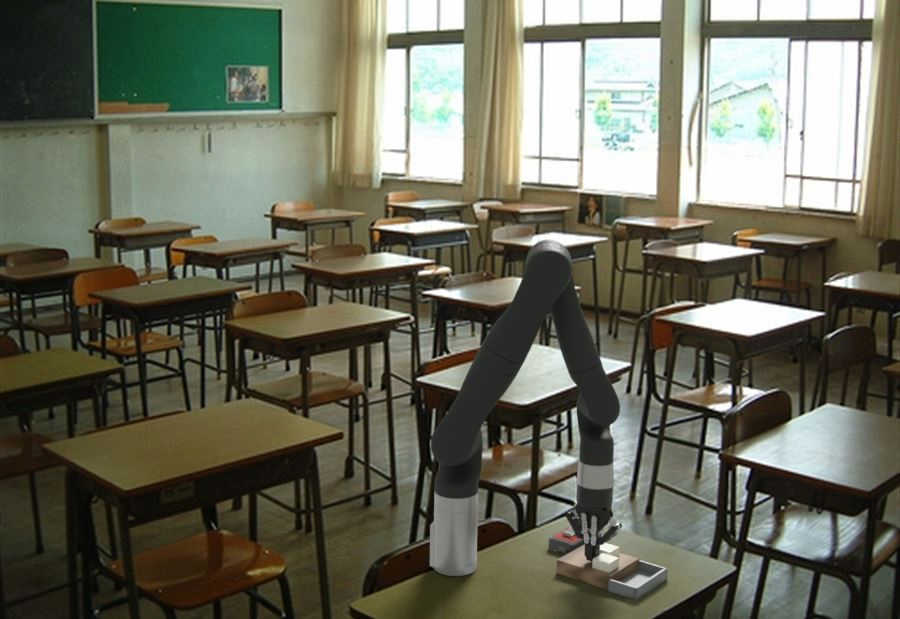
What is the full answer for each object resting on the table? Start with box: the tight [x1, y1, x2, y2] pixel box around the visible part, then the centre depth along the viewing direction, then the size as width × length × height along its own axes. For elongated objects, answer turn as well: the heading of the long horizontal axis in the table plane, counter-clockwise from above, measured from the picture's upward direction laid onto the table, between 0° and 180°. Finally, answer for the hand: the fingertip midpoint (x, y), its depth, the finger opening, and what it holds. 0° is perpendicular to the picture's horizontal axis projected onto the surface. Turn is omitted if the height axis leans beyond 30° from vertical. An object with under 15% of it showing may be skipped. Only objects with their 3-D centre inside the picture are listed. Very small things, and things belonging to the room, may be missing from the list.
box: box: [607, 559, 668, 601], centre depth 235 cm, size 6×13×2 cm, turn 141°
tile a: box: [592, 553, 619, 573], centre depth 237 cm, size 4×4×2 cm
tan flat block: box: [556, 544, 640, 591], centre depth 241 cm, size 13×12×3 cm
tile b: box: [600, 542, 620, 557], centre depth 242 cm, size 4×4×2 cm
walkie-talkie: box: [548, 525, 607, 555], centre depth 258 cm, size 9×4×20 cm
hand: (591, 559), depth 239 cm, fingers closed
